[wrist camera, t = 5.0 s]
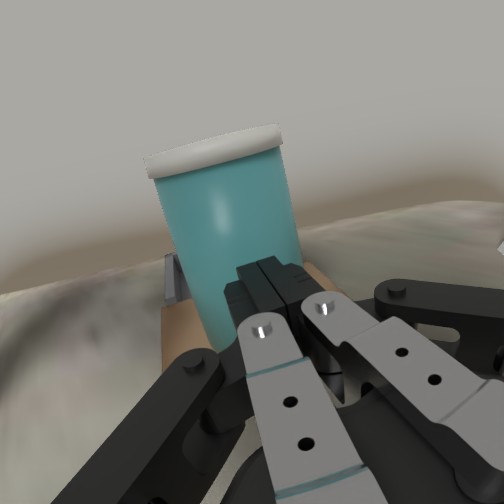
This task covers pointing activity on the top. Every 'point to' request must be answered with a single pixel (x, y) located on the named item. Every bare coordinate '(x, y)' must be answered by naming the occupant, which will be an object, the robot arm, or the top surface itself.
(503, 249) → the crown molding
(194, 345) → the light tan wooden board
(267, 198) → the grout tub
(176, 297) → the tray
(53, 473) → the top surface
